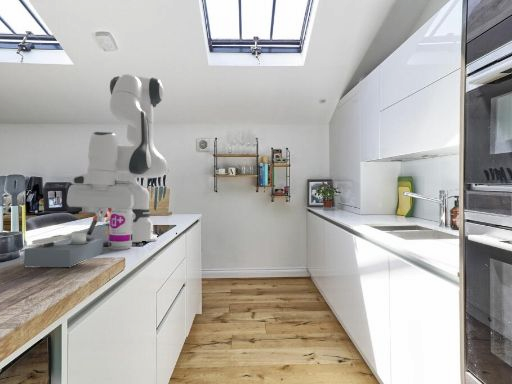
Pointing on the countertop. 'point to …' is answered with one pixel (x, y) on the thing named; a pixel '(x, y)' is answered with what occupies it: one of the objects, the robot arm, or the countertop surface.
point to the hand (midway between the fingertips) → (100, 221)
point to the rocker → (48, 239)
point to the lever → (92, 225)
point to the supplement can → (120, 229)
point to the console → (62, 253)
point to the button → (78, 237)
